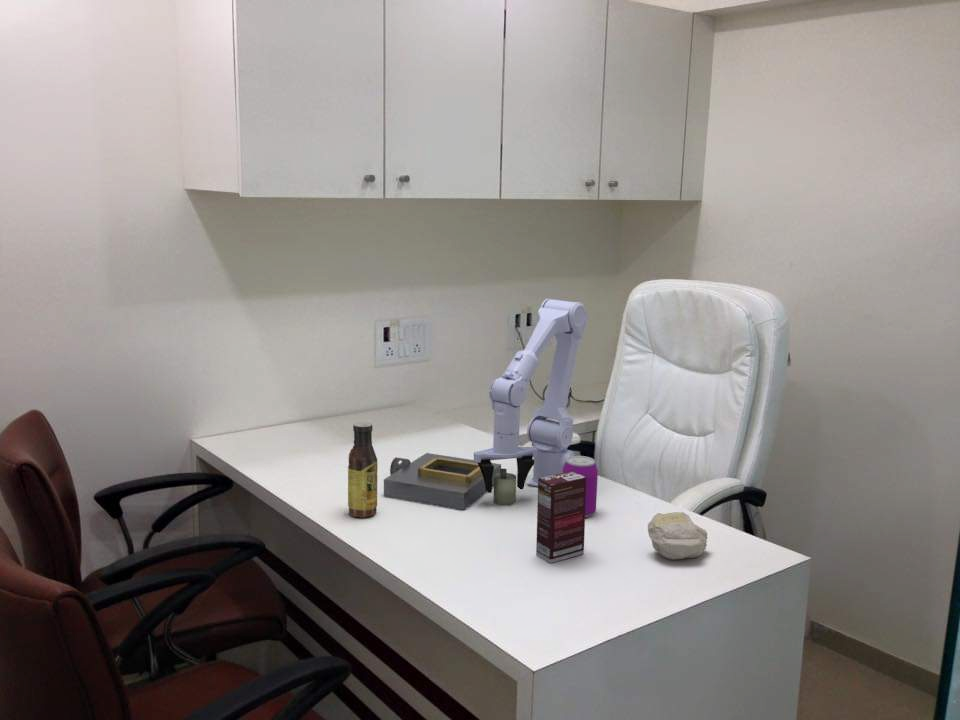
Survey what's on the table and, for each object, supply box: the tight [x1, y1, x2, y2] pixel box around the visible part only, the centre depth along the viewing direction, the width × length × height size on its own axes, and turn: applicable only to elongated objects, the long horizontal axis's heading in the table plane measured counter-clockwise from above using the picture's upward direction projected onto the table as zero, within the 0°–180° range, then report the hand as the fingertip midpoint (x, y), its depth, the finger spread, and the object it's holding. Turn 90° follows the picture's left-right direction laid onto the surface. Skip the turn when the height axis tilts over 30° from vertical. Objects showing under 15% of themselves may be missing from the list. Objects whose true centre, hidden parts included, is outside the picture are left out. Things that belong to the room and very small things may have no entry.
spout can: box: [492, 467, 517, 507], centre depth 195 cm, size 5×5×8 cm
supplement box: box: [535, 471, 586, 564], centre depth 167 cm, size 9×5×16 cm, turn 123°
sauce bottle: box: [347, 421, 378, 519], centre depth 185 cm, size 6×6×20 cm
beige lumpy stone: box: [647, 511, 708, 561], centre depth 169 cm, size 12×8×10 cm
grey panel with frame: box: [383, 452, 502, 511], centre depth 204 cm, size 23×22×6 cm
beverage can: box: [563, 455, 599, 518], centre depth 189 cm, size 8×8×12 cm
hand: (504, 489), depth 195 cm, fingers open, 7 cm apart
